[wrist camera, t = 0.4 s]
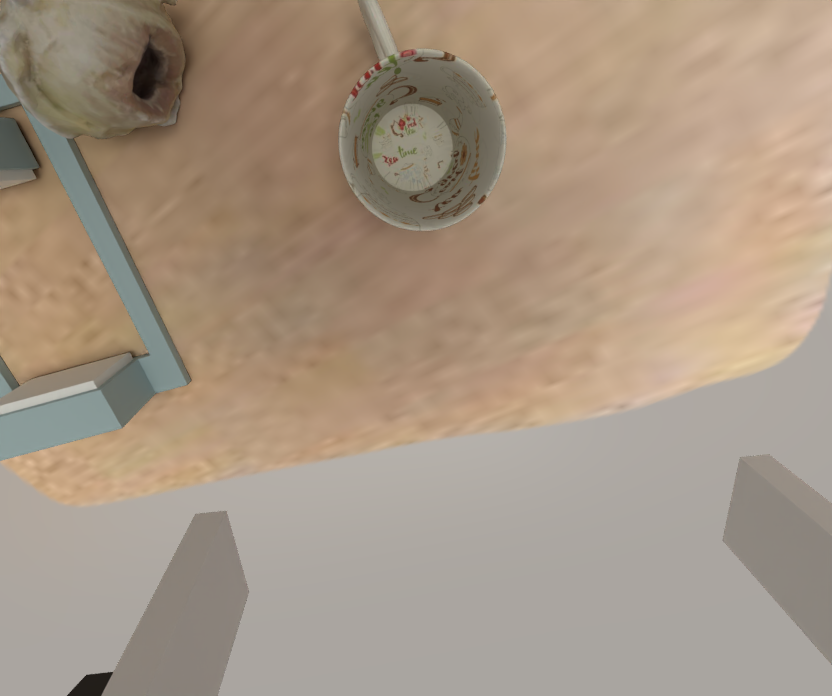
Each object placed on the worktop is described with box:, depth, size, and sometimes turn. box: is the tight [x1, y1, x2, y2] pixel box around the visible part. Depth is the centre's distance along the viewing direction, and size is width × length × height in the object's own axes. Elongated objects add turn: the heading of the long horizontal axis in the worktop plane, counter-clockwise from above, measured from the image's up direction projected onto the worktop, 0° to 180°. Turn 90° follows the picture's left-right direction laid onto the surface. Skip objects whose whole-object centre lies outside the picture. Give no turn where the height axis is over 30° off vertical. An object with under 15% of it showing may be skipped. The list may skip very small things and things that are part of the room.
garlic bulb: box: [0, 0, 185, 139], centre depth 26 cm, size 9×8×10 cm
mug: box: [338, 0, 506, 231], centre depth 28 cm, size 8×13×10 cm, turn 24°
